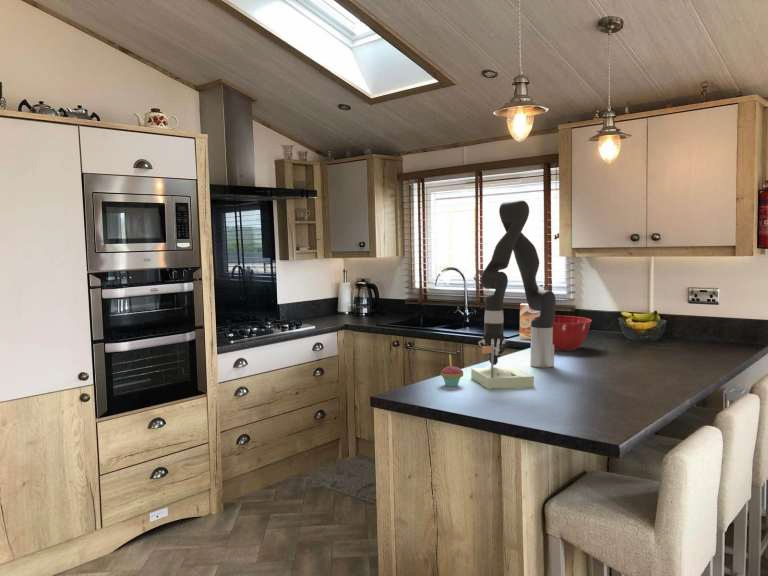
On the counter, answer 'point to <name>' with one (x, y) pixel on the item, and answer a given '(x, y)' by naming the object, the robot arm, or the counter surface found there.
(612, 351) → the counter surface
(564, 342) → the mixing bowl
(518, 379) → the board
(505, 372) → the ball
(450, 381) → the cupcake
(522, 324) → the coffeecake box
